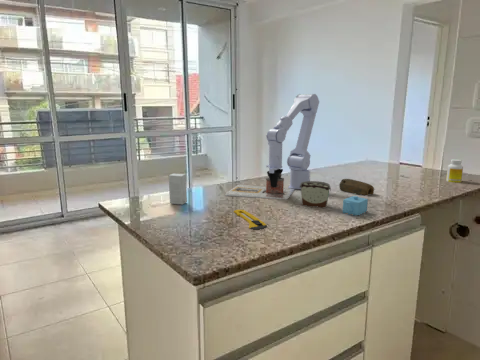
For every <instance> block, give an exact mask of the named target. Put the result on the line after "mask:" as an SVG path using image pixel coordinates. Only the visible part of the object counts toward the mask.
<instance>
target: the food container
mask: <svg viewBox="0 0 480 360" xmlns="http://www.w3.org/2000/svg"><path fill="white" fill-rule="evenodd" d="M300 187H301V189H300V192H301V193H300V195H301V206H302V205H307V206H306V207H313V206H318V207H317V208H323V207H326V208H327V206H328V201H329V195H330V194H329V193H330V192H331V191H332V189H331V187H332V186H331V184H330V183H328V182H324V181H318V180H317V181H315V180H310V181H306V182H302V183H301V184H300ZM300 187H299V188H300Z"/></svg>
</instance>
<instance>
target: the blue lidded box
mask: <svg viewBox="0 0 480 360" xmlns="http://www.w3.org/2000/svg"><path fill="white" fill-rule="evenodd" d="M368 202H369V199H368V198H364V197H361V196H360V197H359V196H357V195H352V196H348V197H346V198H344V199H342V212H343V213H342V214H345V213H348V214H347V215H350V214H353V215H352V216H355V215H359V216H361V215H363V214H365V213H367V212H368ZM366 211H367V212H366ZM364 212H365V213H364ZM362 213H363V214H362ZM360 214H361V215H360Z"/></svg>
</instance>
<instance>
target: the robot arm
mask: <svg viewBox="0 0 480 360" xmlns="http://www.w3.org/2000/svg"><path fill="white" fill-rule="evenodd" d="M319 104H320V99H319V97H318V95H317V94H316V93H312V94H311V93H310V94H309V93H308V94H304V93H303V94H301V93H299V94H296V96H295V98H293V104H292V106H291V107H290V109H289V110H288V112H287V113H286V115H283V116H281V117H280V118H279V120H278V121H277V122H276V124H275V125H274V126H273V128H270V129H269V130H268V131H267V132H266V133H267V134H266V135H265V136H266V140H267V144H268V151H269V152H268V164H267V165H265V167H266V168H267V169H269V170H268V171H267V172H266V174H267V176H268V178H269V179H270V183H271V187H276V186H277V181H278V177H279V174H281V175H282V173H283V171H284V169H283V142H284V141H285V140H286V137H287V132H288V131H289V130H290V129H291V127H292V125H293V120H294V119H295V117H297V116H298V115H299V113H300V114H302V116H303V118H302V122H301V125H300V129H299V133H298V137H297V141H296V144H295V148H293V149H292V150H291V151H290V153H289V154H288V155H289V156H287V159H286V164H287V166H288V167H289V170H290V171H289V172H290V173H289V175H290V176H289V177H290V178H289V186H288V187H287V188H288V189H295V190H301V187H300V184H301V183H302V182H306V181H311V169H309V167H310V164H311V157H312V156H311V154H310V153H309V151H308V146H309V143H310V141H311V140H310V139H311V134H312V132H313V127H314V123H315V119H316V115H317V113H318V109H319ZM299 187H300V188H299Z"/></svg>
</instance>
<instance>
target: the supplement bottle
mask: <svg viewBox="0 0 480 360" xmlns="http://www.w3.org/2000/svg"><path fill="white" fill-rule="evenodd" d="M462 161H463V160H461V159H457V158H455V159H454V158H452V159H450V164H448V165H447V168H446V169H447V171H446V178H445V181H446V182H449V183H462V179H463V171H464V170H463V169H464V166H463V165H462Z"/></svg>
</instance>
